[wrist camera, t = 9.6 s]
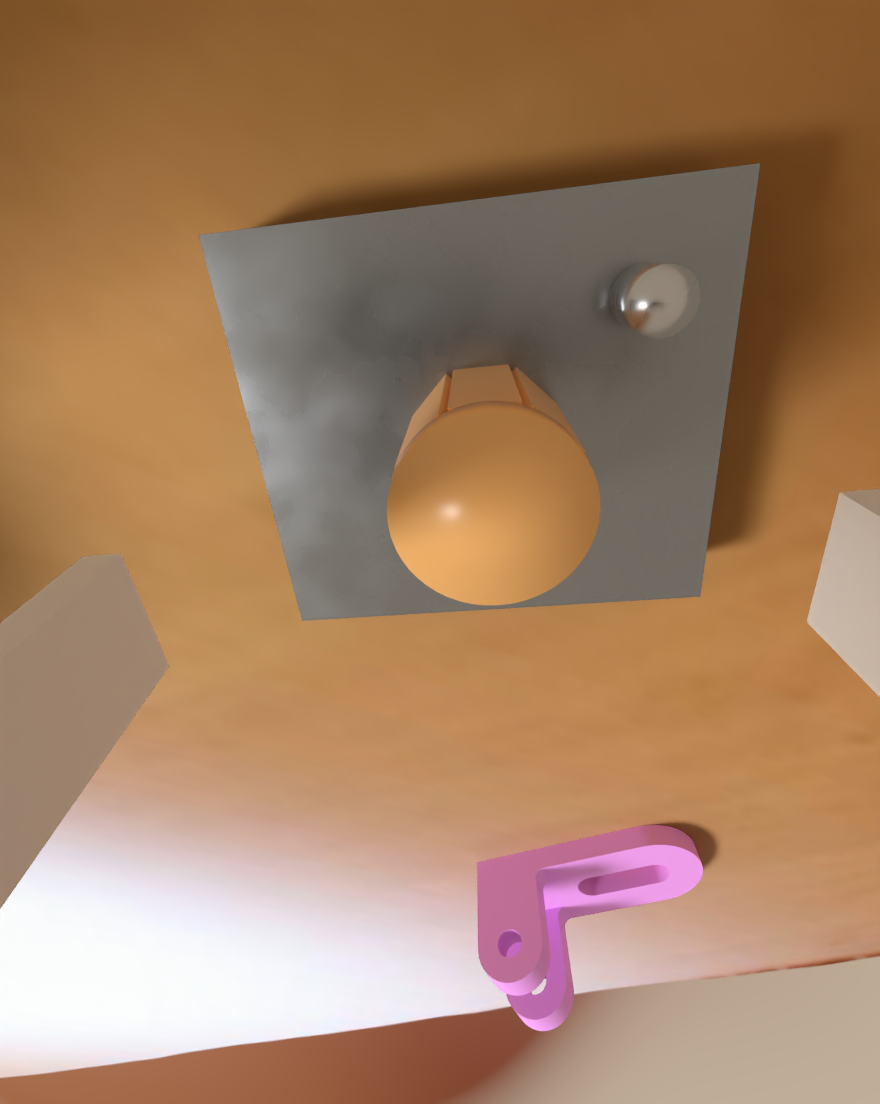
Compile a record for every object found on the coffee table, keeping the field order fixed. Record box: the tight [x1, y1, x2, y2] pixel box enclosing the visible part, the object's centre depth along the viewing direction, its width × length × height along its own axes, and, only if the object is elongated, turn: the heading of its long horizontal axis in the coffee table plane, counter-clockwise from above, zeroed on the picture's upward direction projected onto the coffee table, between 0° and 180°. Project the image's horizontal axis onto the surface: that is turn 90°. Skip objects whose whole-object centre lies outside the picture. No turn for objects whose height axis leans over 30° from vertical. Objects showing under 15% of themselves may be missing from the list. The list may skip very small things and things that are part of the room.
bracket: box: [477, 825, 703, 1031], centre depth 32 cm, size 13×6×7 cm, turn 114°
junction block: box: [199, 163, 760, 621], centre depth 18 cm, size 16×14×7 cm
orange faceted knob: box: [387, 364, 601, 605], centre depth 16 cm, size 5×5×6 cm
